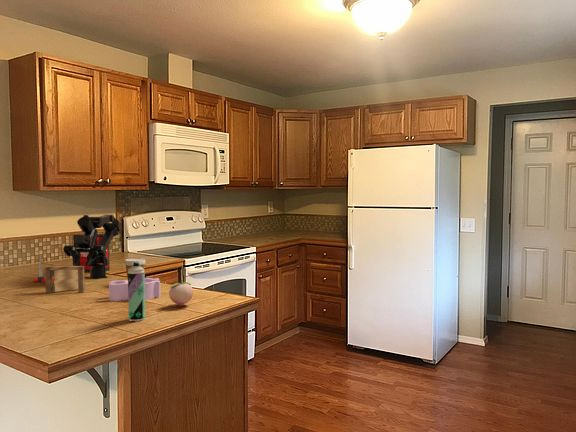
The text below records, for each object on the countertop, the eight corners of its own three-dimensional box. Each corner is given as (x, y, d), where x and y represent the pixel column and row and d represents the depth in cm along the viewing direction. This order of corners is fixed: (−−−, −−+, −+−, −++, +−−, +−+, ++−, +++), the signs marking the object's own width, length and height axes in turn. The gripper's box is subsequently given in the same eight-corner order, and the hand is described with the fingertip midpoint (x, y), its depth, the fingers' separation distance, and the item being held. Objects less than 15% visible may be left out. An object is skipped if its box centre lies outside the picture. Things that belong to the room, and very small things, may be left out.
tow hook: (44, 279, 235) (31, 282, 226) (44, 253, 235) (31, 255, 226) (59, 279, 234) (47, 282, 225) (59, 254, 234) (47, 256, 225)
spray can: (130, 317, 164) (129, 261, 163) (146, 317, 164) (145, 260, 163) (126, 321, 159) (125, 263, 157) (143, 321, 159) (142, 263, 158)
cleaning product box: (109, 270, 259) (108, 234, 258) (97, 273, 251) (96, 236, 249) (86, 268, 265) (85, 233, 264) (74, 271, 257) (73, 234, 256)
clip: (109, 303, 185) (108, 286, 185) (109, 296, 197) (109, 280, 196) (161, 299, 192) (160, 282, 191) (158, 293, 204) (158, 277, 203)
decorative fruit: (181, 310, 174) (180, 283, 173) (165, 307, 178) (165, 281, 178) (198, 304, 182) (198, 279, 181) (183, 302, 186) (182, 277, 186)
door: (52, 291, 202) (51, 270, 201) (51, 291, 204) (50, 269, 203) (79, 288, 209) (78, 267, 208) (78, 287, 210) (77, 266, 210)
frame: (45, 293, 202) (44, 267, 201) (47, 292, 204) (47, 266, 203) (83, 292, 202) (82, 266, 202) (84, 291, 204) (84, 266, 204)
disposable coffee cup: (150, 283, 222) (150, 258, 221) (136, 287, 213) (135, 261, 213) (134, 282, 226) (134, 257, 225) (120, 285, 217) (119, 260, 217)
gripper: (63, 228, 220) (53, 256, 210) (103, 228, 220) (94, 256, 210) (72, 241, 229) (62, 269, 219) (110, 242, 229) (102, 269, 219)
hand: (80, 266), depth 217 cm, fingers open, 6 cm apart
